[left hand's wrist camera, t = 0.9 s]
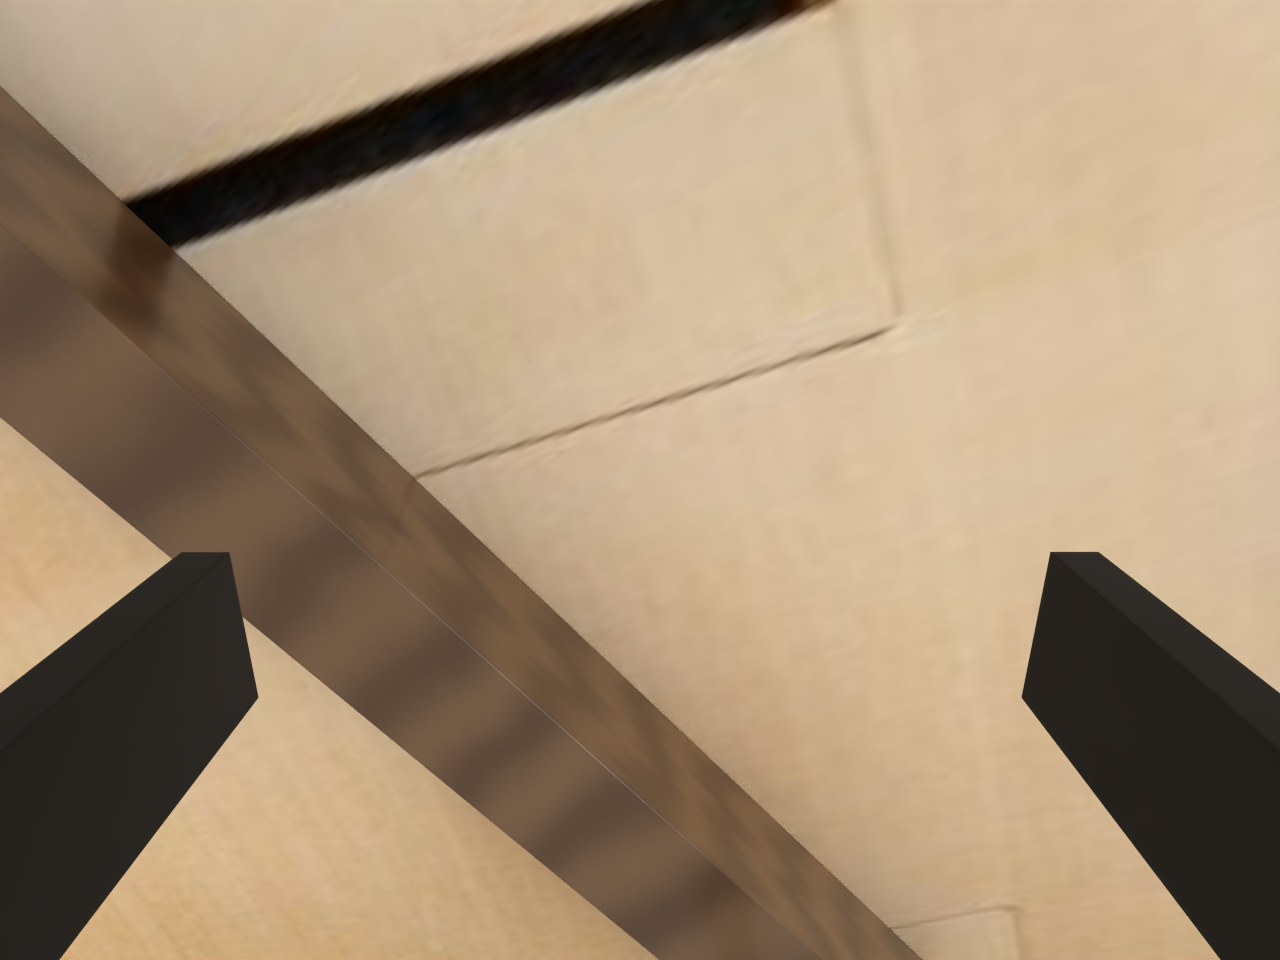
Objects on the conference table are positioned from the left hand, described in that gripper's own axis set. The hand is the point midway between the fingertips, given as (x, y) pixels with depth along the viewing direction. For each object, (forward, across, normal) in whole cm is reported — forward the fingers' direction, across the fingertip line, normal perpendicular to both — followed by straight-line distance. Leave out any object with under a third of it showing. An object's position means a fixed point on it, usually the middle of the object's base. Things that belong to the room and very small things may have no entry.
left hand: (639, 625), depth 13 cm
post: (+24, -10, -12) cm, 29 cm away
